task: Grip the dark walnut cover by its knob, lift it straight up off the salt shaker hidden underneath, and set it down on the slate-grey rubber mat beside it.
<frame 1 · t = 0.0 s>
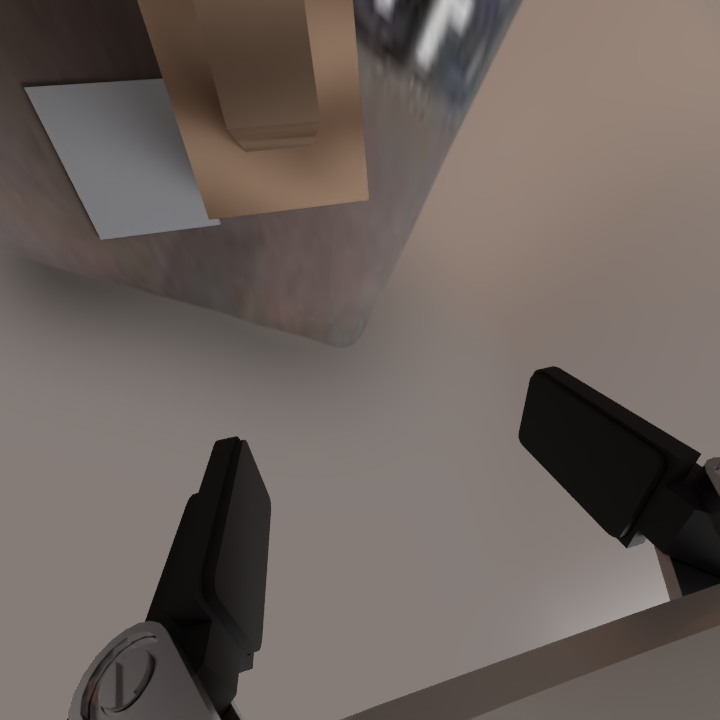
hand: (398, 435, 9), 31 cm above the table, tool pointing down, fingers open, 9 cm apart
slate mat: (137, 165, 29), on the table
walnut cover: (280, 151, 30), on the table
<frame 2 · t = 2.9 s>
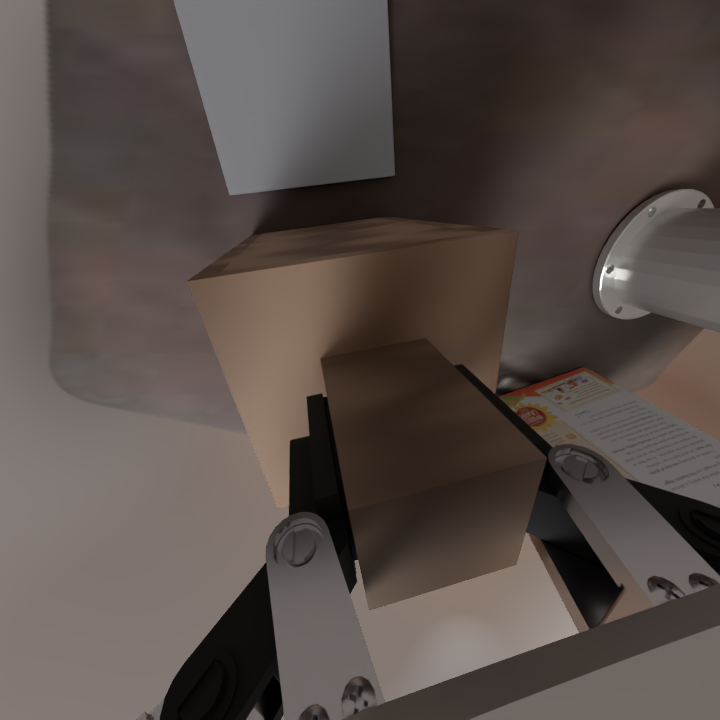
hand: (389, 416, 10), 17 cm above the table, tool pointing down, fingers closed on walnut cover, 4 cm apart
slate mat: (297, 76, 18), on the table
walnut cover: (331, 291, 25), on the table, touching gripper
cracker box: (530, 399, 37), on the table
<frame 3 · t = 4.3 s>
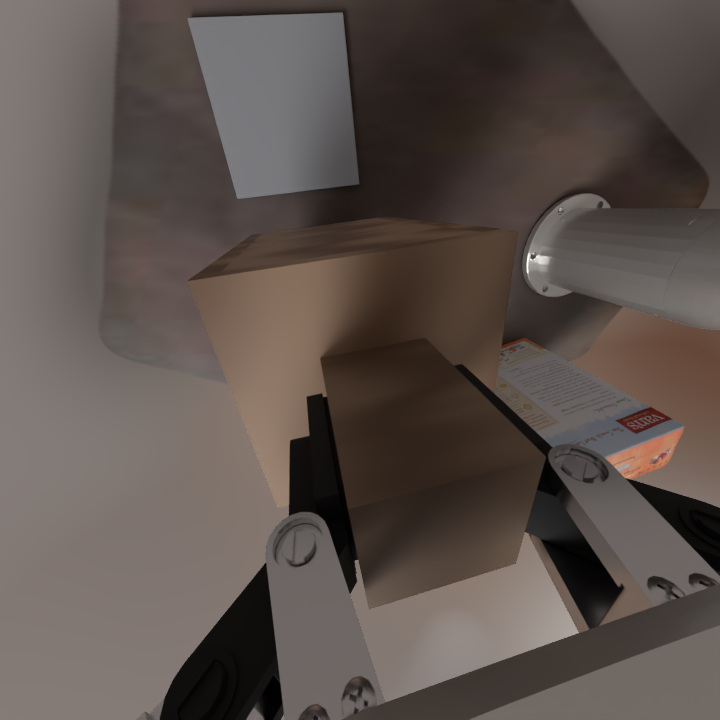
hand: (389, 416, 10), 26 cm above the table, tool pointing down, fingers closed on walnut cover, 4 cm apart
slate mat: (285, 115, 26), on the table
walnut cover: (331, 291, 25), point 9 cm above the table, touching gripper
cracker box: (482, 365, 45), on the table
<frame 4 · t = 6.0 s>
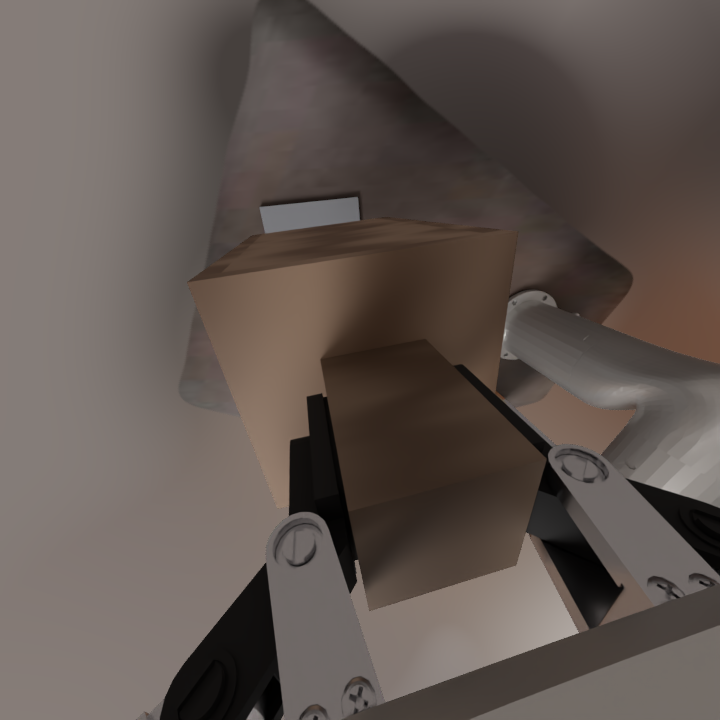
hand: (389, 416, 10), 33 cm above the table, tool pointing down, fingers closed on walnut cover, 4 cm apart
slate mat: (317, 253, 39), on the table
walnut cover: (331, 292, 25), point 16 cm above the table, touching gripper
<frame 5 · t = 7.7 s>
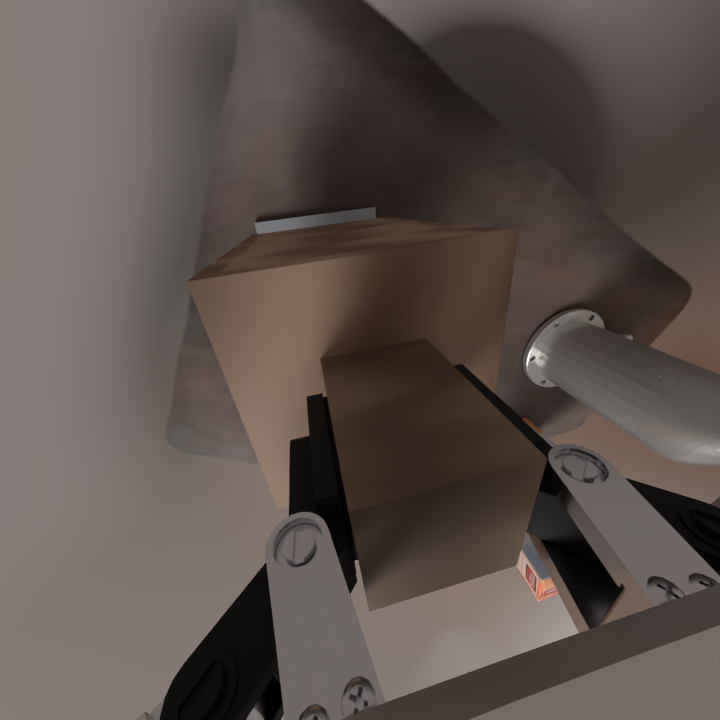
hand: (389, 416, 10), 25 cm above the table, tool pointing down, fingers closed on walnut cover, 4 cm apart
slate mat: (326, 274, 32), on the table
walnut cover: (331, 291, 25), point 8 cm above the table, touching gripper
cracker box: (487, 439, 50), on the table
when the fingers open (19 cm above the table, at t = 9.1 s): walnut cover drops 1 cm, resting on slate mat.
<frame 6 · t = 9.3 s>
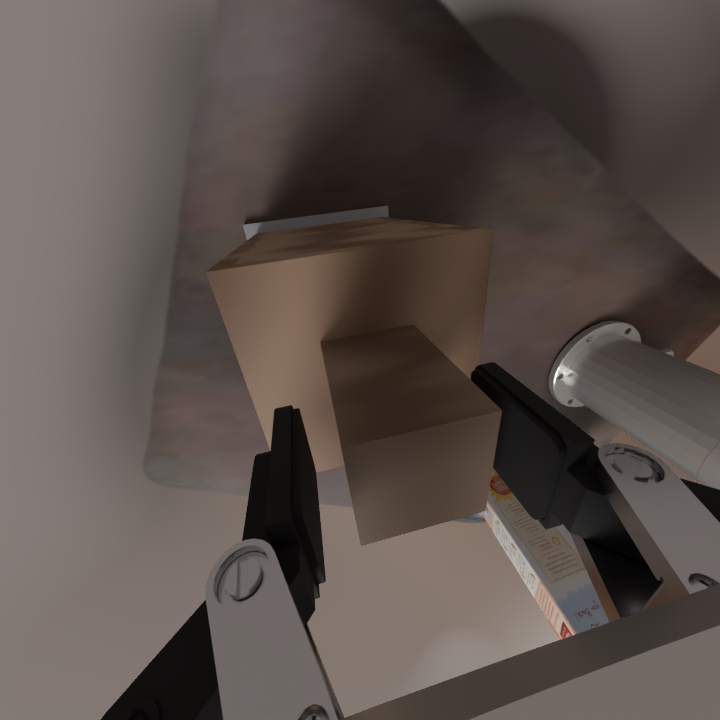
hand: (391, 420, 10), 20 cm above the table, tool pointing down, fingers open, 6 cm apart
slate mat: (328, 285, 27), on the table
walnut cover: (331, 287, 27), point 1 cm above the table, touching slate mat
cracker box: (505, 462, 46), on the table
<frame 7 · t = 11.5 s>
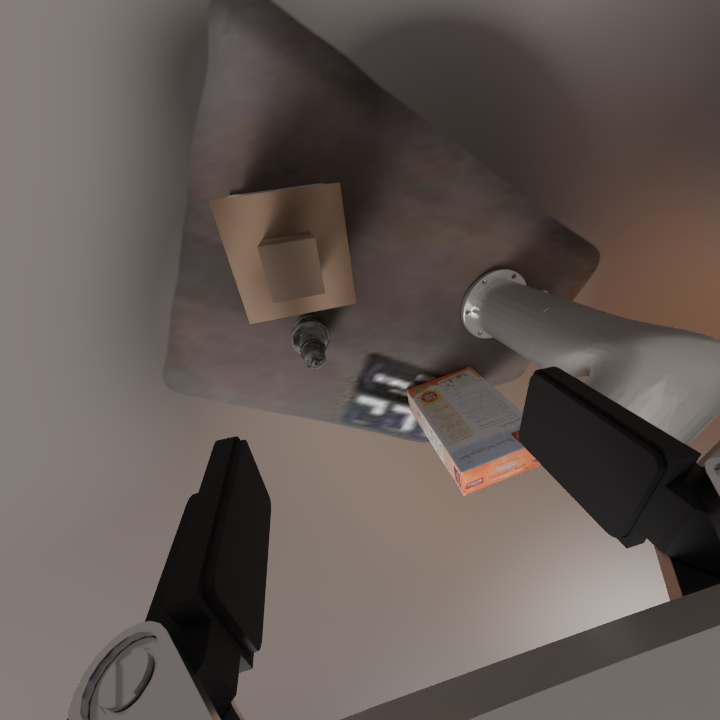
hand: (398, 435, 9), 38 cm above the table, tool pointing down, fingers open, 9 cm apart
walnut cover: (289, 239, 40), point 1 cm above the table, touching slate mat
salt shaker: (309, 330, 47), on the table
cracker box: (439, 387, 59), on the table
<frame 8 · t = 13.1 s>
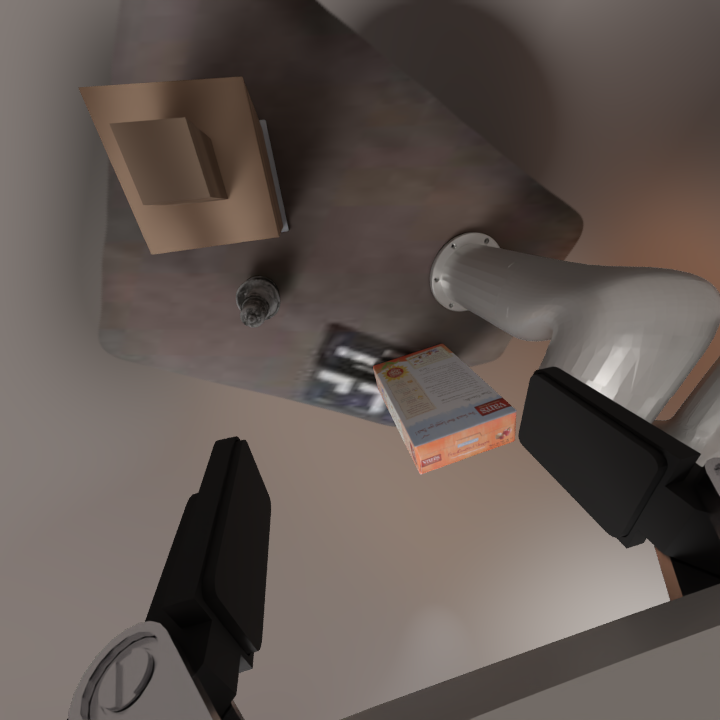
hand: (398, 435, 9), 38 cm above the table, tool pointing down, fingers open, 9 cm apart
slate mat: (230, 185, 37), on the table
walnut cover: (230, 185, 36), point 1 cm above the table, touching slate mat
salt shaker: (260, 293, 44), on the table
cracker box: (409, 366, 55), on the table
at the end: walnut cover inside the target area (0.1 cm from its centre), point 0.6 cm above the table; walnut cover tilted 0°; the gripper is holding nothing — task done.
